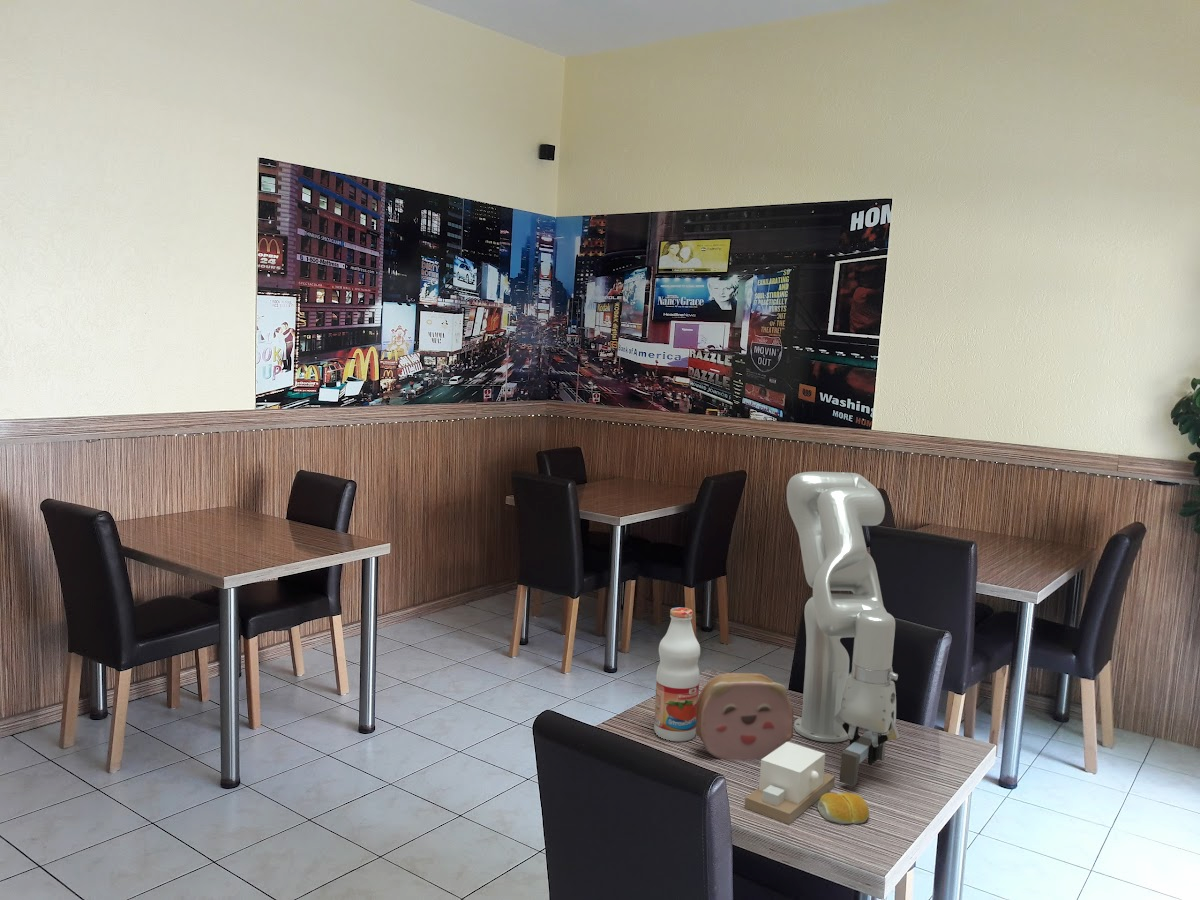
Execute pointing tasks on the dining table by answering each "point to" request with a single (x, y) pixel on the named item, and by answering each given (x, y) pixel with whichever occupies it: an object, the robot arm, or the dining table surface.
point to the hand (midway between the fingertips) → (863, 759)
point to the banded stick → (856, 758)
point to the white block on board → (789, 782)
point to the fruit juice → (677, 679)
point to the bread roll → (843, 808)
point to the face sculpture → (743, 716)
